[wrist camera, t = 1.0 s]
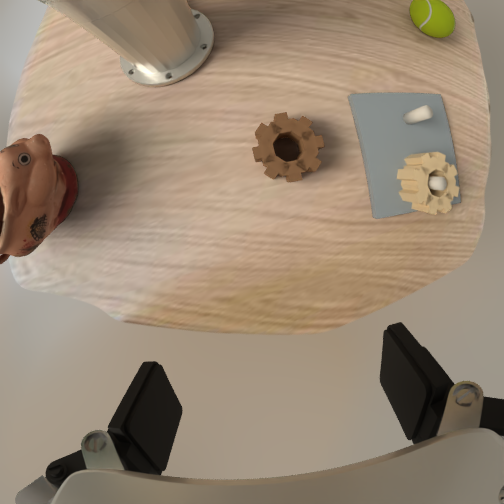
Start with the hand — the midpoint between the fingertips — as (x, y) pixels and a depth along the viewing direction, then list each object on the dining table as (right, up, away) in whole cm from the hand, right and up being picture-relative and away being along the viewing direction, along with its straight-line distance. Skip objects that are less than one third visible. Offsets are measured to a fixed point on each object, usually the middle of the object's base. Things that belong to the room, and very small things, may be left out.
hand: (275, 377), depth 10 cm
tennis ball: (+24, +39, +13) cm, 47 cm away
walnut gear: (+3, +16, +19) cm, 25 cm away
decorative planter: (-30, +13, +22) cm, 39 cm away
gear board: (+19, +18, +18) cm, 32 cm away
